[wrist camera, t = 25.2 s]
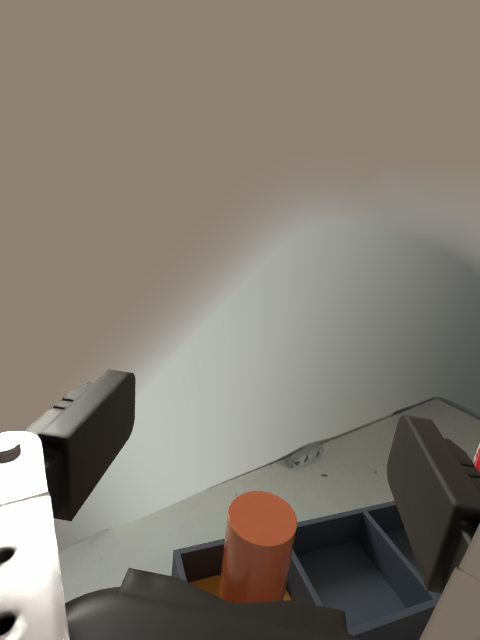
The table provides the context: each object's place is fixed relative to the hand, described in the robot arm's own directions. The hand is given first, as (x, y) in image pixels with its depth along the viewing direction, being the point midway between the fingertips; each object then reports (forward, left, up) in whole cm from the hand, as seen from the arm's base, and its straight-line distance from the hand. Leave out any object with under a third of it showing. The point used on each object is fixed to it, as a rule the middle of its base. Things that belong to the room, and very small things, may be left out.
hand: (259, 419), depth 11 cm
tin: (+8, +12, -29) cm, 33 cm away
